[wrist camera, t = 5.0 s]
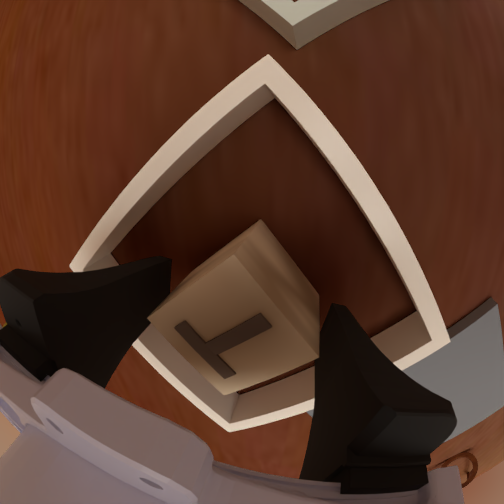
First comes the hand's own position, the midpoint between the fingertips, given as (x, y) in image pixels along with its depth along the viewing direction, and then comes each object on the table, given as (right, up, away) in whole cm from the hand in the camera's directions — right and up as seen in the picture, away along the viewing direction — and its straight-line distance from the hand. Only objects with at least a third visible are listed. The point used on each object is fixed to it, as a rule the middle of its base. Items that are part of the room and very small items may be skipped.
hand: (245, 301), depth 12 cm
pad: (+13, -9, +2) cm, 16 cm away
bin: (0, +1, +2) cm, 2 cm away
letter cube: (0, +1, +2) cm, 2 cm away
